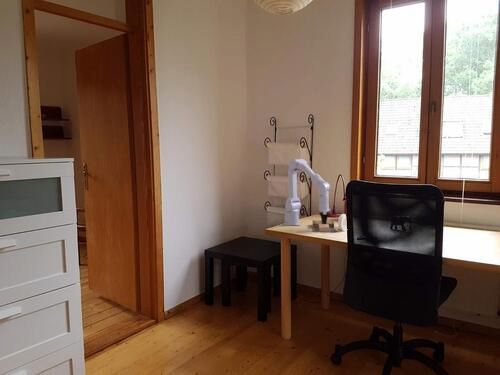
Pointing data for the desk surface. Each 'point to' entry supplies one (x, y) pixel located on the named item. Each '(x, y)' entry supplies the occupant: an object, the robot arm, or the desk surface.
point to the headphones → (342, 222)
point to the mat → (324, 231)
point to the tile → (324, 227)
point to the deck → (317, 222)
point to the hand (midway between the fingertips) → (324, 224)
